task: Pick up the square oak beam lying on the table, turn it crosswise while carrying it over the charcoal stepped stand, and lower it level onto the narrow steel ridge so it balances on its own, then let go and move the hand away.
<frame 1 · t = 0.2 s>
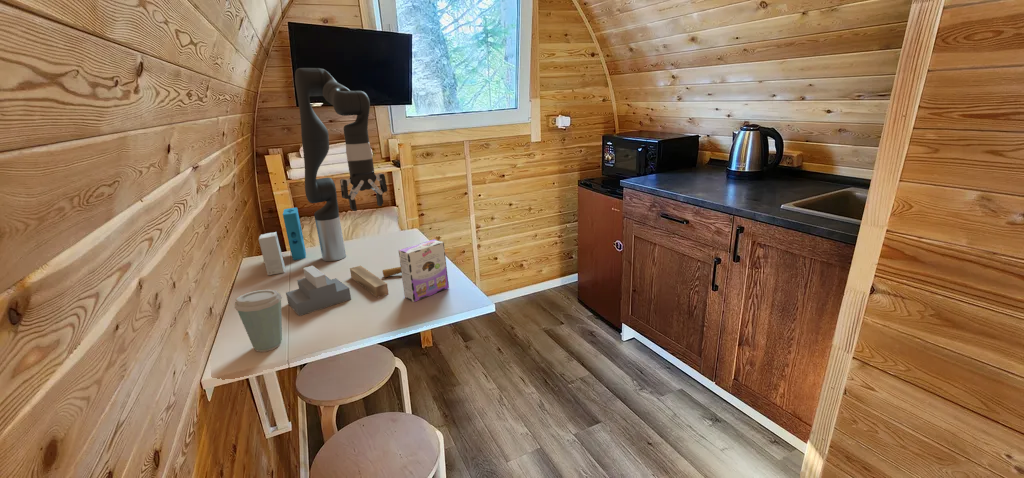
hand: (367, 208, 143), 28 cm above the table, tool pointing down, fingers open, 8 cm apart
skincare box: (276, 271, 172), on the table
kendama: (409, 275, 162), on the table
candy box: (427, 293, 144), on the table
ridge stand: (319, 301, 142), on the table
disposable coffee cup: (269, 346, 117), on the table
block: (299, 256, 188), on the table
oak beam: (369, 286, 153), on the table
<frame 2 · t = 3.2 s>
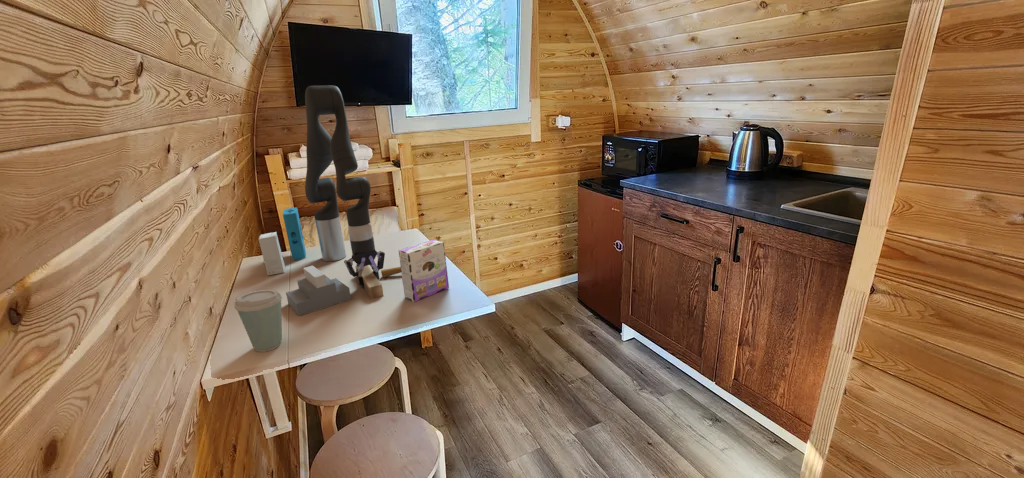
hand: (369, 283, 153), 1 cm above the table, tool pointing down, fingers closed on oak beam, 4 cm apart
oak beam: (369, 285, 153), on the table, touching gripper
when the fingers open (12 cm above the table, at t = 7.9 s): oak beam stays where it is, resting on ridge stand.
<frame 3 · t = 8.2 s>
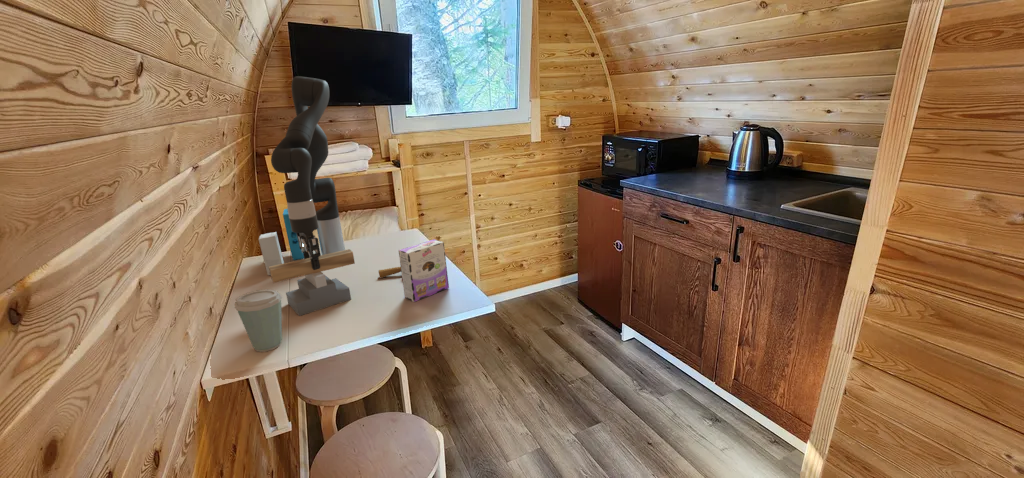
hand: (312, 266, 139), 12 cm above the table, tool pointing down, fingers open, 6 cm apart
oak beam: (314, 271, 139), point 10 cm above the table, touching ridge stand
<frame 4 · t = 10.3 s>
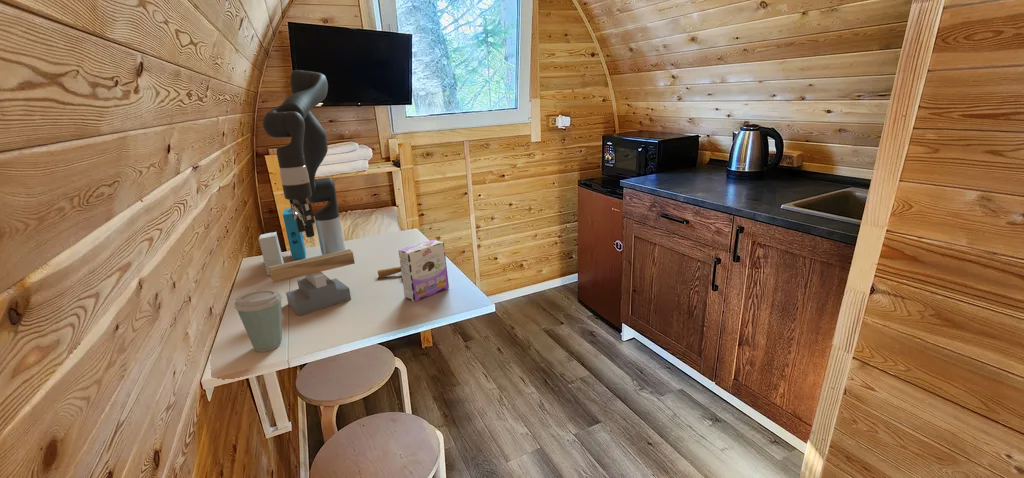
hand: (306, 234, 135), 23 cm above the table, tool pointing down, fingers open, 8 cm apart
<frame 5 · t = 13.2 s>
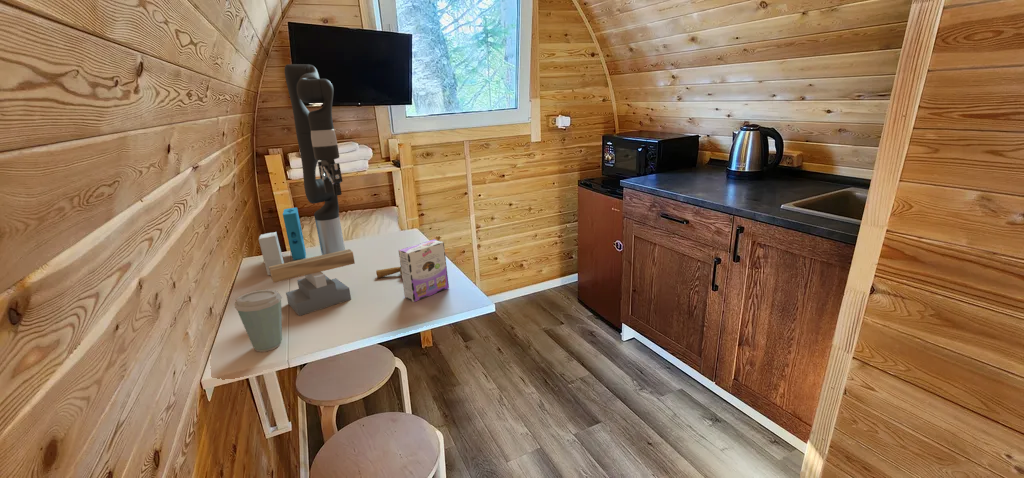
hand: (333, 193, 147), 32 cm above the table, tool pointing down, fingers open, 8 cm apart
at the end: oak beam 0.3 cm off-centre on the ridge stand, point 10.5 cm above the ridge stand's base; oak beam tilted 0°; oak beam touching ridge stand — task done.
